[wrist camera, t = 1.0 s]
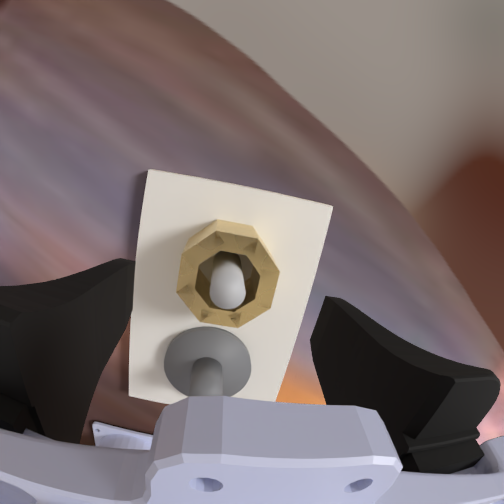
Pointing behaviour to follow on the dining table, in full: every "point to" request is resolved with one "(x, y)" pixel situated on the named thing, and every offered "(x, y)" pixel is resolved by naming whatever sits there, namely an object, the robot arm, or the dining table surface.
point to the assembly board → (163, 264)
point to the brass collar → (257, 286)
